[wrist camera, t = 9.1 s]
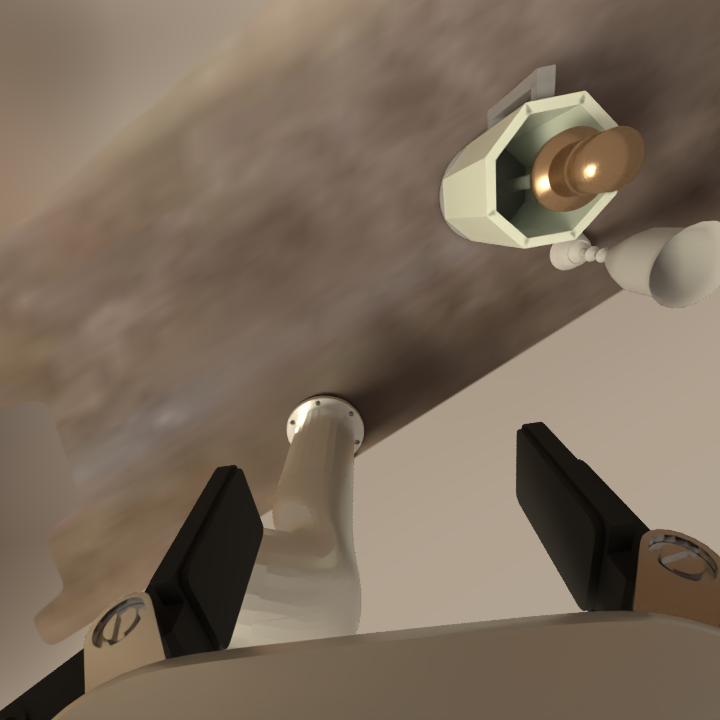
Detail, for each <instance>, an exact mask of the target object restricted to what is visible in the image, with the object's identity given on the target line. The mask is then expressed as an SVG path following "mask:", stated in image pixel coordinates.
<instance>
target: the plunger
mask: <svg viewBox="0 0 720 720" xmlns="http://www.w3.org/2000/svg"><path fill="white" fill-rule="evenodd" d="M644 156H645V145H644V141H643V138H642V136H641V134H640V133H639V132H638V131H637V130H636V129H634V128H632V127H629V126H617V127H614V128H611V129H608V130H606V131H603V132H600V131H598V130H596V129H595V128H592V127H588V126H576V127H572V128H569V129H566V130H564V131H562V132H560V133H558V134H556V135H554V136H553V137H552V138H550V139H549V140H548V141H547V142H546V143H545V144H544V145H543V146H542V147H541V149H540V150H539V151H538V153H537V155H536V156H535V159H534V161H533V163H532V167H531V171H530V174H529V175H525V176H522V177H518V178H515V179H512V180H508V181H505V182H501V183H498V184H496V195H501V194H506V193H510V192H515V191H520V190H525V189H531V192H532V195H533V197H534V199H535V200H536V202H537V203H538V204H539V205H540V206H542V207H543V208H545V209H546V210H549V211H553V212H568V211H573V210H577V209H579V208H581V207H583V206H585V205H587V204H588V203H589V202H591V201H592V200H593V199H594V198H595V197H596V196H597V195H598V194H600V193H607V192H613V191H617V190H619V189H621V188H623V187H624V186H626V185H627V184H628V183H630V182H631V181H632V180H633V179H634V177H635V176H636V175H637V173H638V172H639V170H640V168H641V166H642V163H643V160H644Z"/></svg>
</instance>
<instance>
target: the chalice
mask: <svg viewBox="0 0 720 720" xmlns="http://www.w3.org/2000/svg"><path fill="white" fill-rule="evenodd" d="M550 260H551V262H552V264H553V265H554V266H555V267H556V268H557V269H560V270H569V269H573V268H575V267H577V266H579V265H581V264H583V263H584V262H585V261H586V260H587V261H589V262H590V261H594V260H596V261H598V262H604V261H605V266H606V268H607V270H608V272H609V273H610V275H611V277H612V278H613V279H614V280H615V281H616V282H617V283H618V284H619V285H620V286H621V287H622V288H623V289H624V290H627V291H630V292H634V293H638V294H642V295H646V296H650V297H653V298H654V299H655V300H656V301H657V302H658V303H659V304H660V305H662V306H665V307H668V308H684V307H687V306H690V305H693V304H696V303H698V302H699V301H701V300H703V299H704V298H706V297H708V296H709V295H710V294H711V293H713V292H714V291H715V290H716V289H717V288H718V287H719V286H720V222H718V221H703V222H700V223H697V224H694V225H692V226H689V227H687V228H682V227H659V228H651V229H648V230H645V231H643V232H640V233H637V234H635V235H632V236H630V237H628V238H626V239H625V240H623V241H621V242H620V243H618V244H616V245H615V246H613V247H612V248H611V249H610V250H609V249H608V248H602V249H599V248H598V247H597V246H592V247H591V243H590V241H589V240H588V239H587V238H586V236H585V235H584V234H583V233H581V234H580V235H579V236H578V237H577V238H576V239H575V240H570V241H565V242H559V243H553V245H552V247H551V251H550Z"/></svg>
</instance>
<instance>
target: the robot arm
mask: <svg viewBox="0 0 720 720" xmlns="http://www.w3.org/2000/svg"><path fill="white" fill-rule="evenodd" d="M318 401H320V402H318ZM350 411H352V412H350ZM287 436H288V439H289V442H290V444H291V446H290V449H289V452H288V455H287V459H286V462H285V465H284V468H283V471H282V475H281V478H280V481H279V484H278V488H277V491H276V494H275V498H274V502H273V511H272V513H273V522H274V527H275V530H273V529H267V528H263V524H262V521H261V519H260V516H259V513H258V511H257V508H256V505H255V502H254V500H253V497H252V494H251V492H250V489H249V486H248V484H247V481H246V478H245V475H244V473H243V471H242V469H238V468H237V466H236V465H230V466H223V467H218V468H217V469H216V470H215V471H214V473H213V475H212V477H211V478H210V480H209V482H208V483H207V485H206V487H205V488H204V490H203V492H202V494H201V495H200V497H199V499H198V500H197V502H196V504H195V506H194V507H193V509H192V511H191V512H190V514H189V516H188V517H187V519H186V521H185V523H184V524H183V526H182V528H181V529H180V531H179V533H178V535H177V536H176V538H175V540H174V541H173V543H172V545H171V546H170V548H169V550H168V552H167V553H166V555H165V557H164V558H163V560H162V562H161V564H160V565H159V567H158V569H157V570H156V572H155V574H154V575H153V577H152V579H151V581H150V583H149V585H148V587H147V588H146V590H145V592H133V593H130V594H127V595H125V596H123V597H121V598H119V599H117V600H116V601H115V602H113V603H112V604H111V605H109V606H108V607H107V608H106V609H105V610H104V611H103V612H102V613H101V614H100V615H99V616H98V617H97V618H96V619H95V621H94V622H93V624H92V625H91V626H90V628H89V630H88V632H87V634H86V636H85V642H84V649H82V650H81V651H80V652H78V653H77V654H76V655H74V656H73V657H72V658H70V659H69V660H68V661H66V662H65V663H64V664H63V665H61V666H60V667H58V668H57V669H56V670H54V671H53V672H52V673H50V674H49V675H48V676H46V677H45V678H44V679H42V680H41V681H40V682H38V683H37V684H36V685H34V686H33V687H32V688H30V689H29V690H28V691H26V692H25V693H24V694H22V695H21V696H20V697H19V698H17V699H16V700H14V701H13V702H12V703H10V704H9V705H8V706H6V707H5V708H4V709H2V710H1V711H0V720H720V557H719V555H717V554H716V553H715V552H714V551H713V550H712V549H710V548H709V547H708V546H707V545H705V544H703V543H702V542H700V541H698V540H696V539H694V538H692V537H690V536H688V535H685V534H683V533H680V532H676V531H672V530H663V529H656V530H650V529H649V528H648V527H647V526H646V525H645V524H644V523H643V522H642V521H641V520H640V519H639V518H638V517H637V516H636V515H635V514H634V513H633V512H632V511H631V510H630V508H629V507H627V505H626V504H625V503H624V502H623V501H622V500H621V499H620V498H619V497H618V496H617V495H616V494H615V493H614V492H613V491H612V490H611V489H610V488H609V487H608V485H607V484H606V483H605V482H604V481H603V480H602V479H601V478H600V477H599V476H598V475H597V474H596V473H595V472H594V471H593V470H592V469H591V468H590V467H589V466H588V465H587V464H586V463H585V462H584V461H582V460H580V459H577V458H576V457H575V456H574V455H573V454H572V453H571V452H570V451H569V450H568V449H567V448H566V447H565V445H563V443H562V442H561V441H560V440H559V439H558V438H557V437H556V436H555V435H554V434H553V433H552V432H551V430H550V429H549V428H548V427H547V426H546V425H545V424H544V423H543V422H536V423H529V424H524V425H522V429H519V430H518V431H517V457H516V459H517V460H516V462H517V463H516V470H517V471H516V495H517V498H518V501H519V504H520V506H521V507H522V509H523V511H524V513H525V514H526V516H527V518H528V520H529V521H530V523H531V525H532V527H533V528H534V530H535V532H536V533H537V535H538V537H539V539H540V540H541V542H542V544H543V546H544V547H545V549H546V551H547V553H548V554H549V556H550V558H551V560H552V561H553V563H554V565H555V566H556V568H557V570H558V572H559V573H560V575H561V577H562V579H563V580H564V582H565V584H566V586H567V587H568V589H569V591H570V592H571V594H572V596H573V598H574V599H575V601H576V603H577V605H578V606H579V607H580V609H582V610H583V611H586V610H587V611H588V612H579V613H567V614H555V615H543V616H532V617H521V618H511V619H501V620H491V621H481V622H471V623H461V624H452V625H442V626H433V627H423V628H413V629H404V630H396V631H385V632H376V633H367V634H358V635H356V633H357V630H358V626H359V622H360V616H361V584H360V577H359V570H358V565H357V559H356V554H355V548H354V538H353V481H354V453H355V452H356V451H357V450H358V449H359V447H360V445H361V443H362V441H363V437H364V425H363V420H362V418H361V416H360V414H359V412H358V411H357V410H356V409H355V408H354V407H353V406H352V405H351V404H350V403H348V402H346V401H345V400H342V399H340V398H337V397H333V396H315V397H312V398H309V399H307V400H305V401H303V402H301V403H300V404H299V405H297V406H296V407H295V409H294V410H293V411H292V413H291V415H290V417H289V419H288V423H287Z"/></svg>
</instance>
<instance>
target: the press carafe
mask: <svg viewBox="0 0 720 720" xmlns="http://www.w3.org/2000/svg"><path fill="white" fill-rule="evenodd" d="M555 73H556V64H555V65H550V66H545V67H541V68H537V69H536V70H535V71H534V72H532V73H531V74H530V75H529V76H528V77H527V78H526V79H524V80H523V81H522V82H521V83H520V84H519V85H518V86H516V87H515V88H514V89H513V90H512V91H511V92H510V93H508V94H507V95H506V96H505V97H504V98H503V99H502V100H500V101H499V102H498V103H497V104H496V105H495V106H494V107H492V108H491V109H490V110H489V111H488V112H487V118H488V131H486V132H485V133H484V134H482V135H481V136H479V137H478V138H477V139H475V140H474V141H473V142H471V143H470V144H468V145H467V146H466V147H465V148H464V149H462V150H461V151H460V152H459V153H458V154H457V155H456V156H455V157H454V158H453V159H452V160H451V162H450V163H449V165H448V166H447V168H446V170H445V172H444V174H443V177H442V180H441V183H440V188H439V205H440V210H441V214H442V216H443V219H444V221H445V222H446V224H447V225H448V227H449V228H450V229H451V230H452V231H453V232H454V233H456V234H457V235H458V236H460V237H462V238H464V239H467V240H471V241H477V242H484V243H491V244H497V245H504V246H511V247H518V248H530V247H536V246H541V245H547V244H553V243H559V242H565V241H570V240H575V239H576V238H577V237H578V236H579V235H580V234H581V233H582V232H583V231H584V230H585V228H586V227H587V226H588V225H589V224H590V223H591V222H592V221H593V220H594V218H595V217H596V216H597V215H598V214H599V213H600V212H601V211H602V209H603V208H604V207H605V206H606V205H607V204H608V203H609V202H610V201H611V199H612V198H613V197H614V196H615V195H616V193H617V191H613V192H607V193H600V194H598V195H597V196H596V197H595V198H594V199H593V200H592V201H591V202H589V203H588V204H587V205H585V206H583V207H581V208H579V209H577V210H573V211H568V212H553V211H549V210H546V209H545V208H543V207H542V206H540V205H539V204H538V203H537V202H536V200H535V199H534V197H533V195H532V192H531V189H525V190H520V191H515V192H510V193H506V194H501V195H496V184H498V183H501V182H505V181H508V180H512V179H515V178H518V177H522V176H525V175H529V174H530V171H531V167H532V163H533V161H534V159H535V156H536V155H537V153H538V151H539V150H540V149H541V147H542V146H543V145H544V144H545V143H546V142H547V141H548V140H549V139H550V138H552V137H553V136H554V135H556V134H558V133H560V132H562V131H564V130H566V129H569V128H572V127H576V126H588V127H592V128H595V129H596V130H598V131H600V132H603V131H606V130H608V129H611V128H614V127H617V126H618V125H617V123H616V122H615V121H614V120H613V119H612V118H611V117H610V116H609V115H608V114H607V113H606V112H605V111H604V110H603V109H602V107H601V106H600V105H599V104H598V103H597V102H596V101H595V100H594V99H593V98H592V97H591V96H590V95H589V94H588V93H587V91H581V92H576V93H571V94H566V95H561V96H556V97H555ZM530 98H531V102H526V101H527V100H529V99H530ZM525 102H526V103H525ZM523 103H525V104H523ZM522 104H523V105H522ZM521 105H522V106H521ZM519 106H521V107H519ZM518 107H519V108H518ZM517 108H518V109H517ZM515 109H517V110H515ZM514 110H515V111H514ZM512 111H514V112H512ZM511 112H512V113H511ZM510 113H511V114H510ZM508 114H510V115H508ZM507 115H508V116H507ZM506 116H507V117H506ZM504 117H506V118H504Z"/></svg>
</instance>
